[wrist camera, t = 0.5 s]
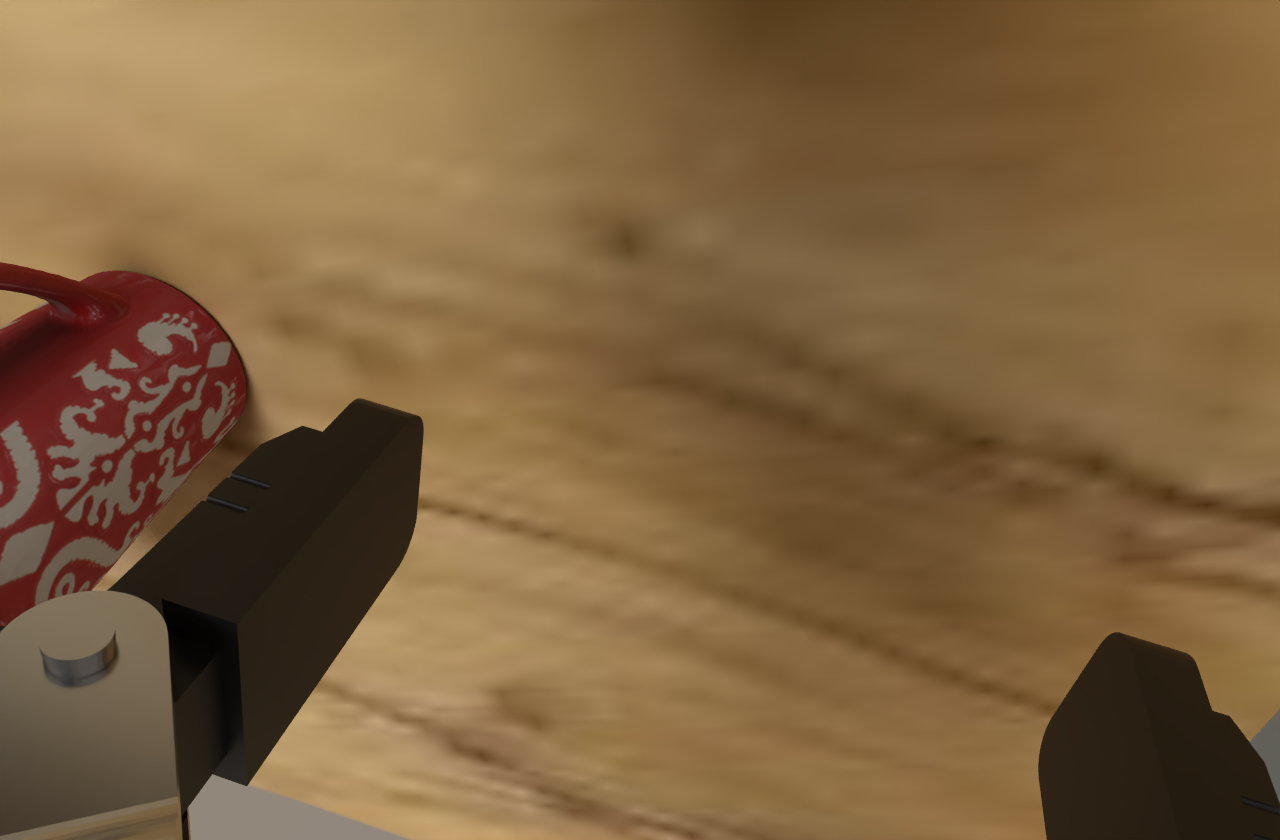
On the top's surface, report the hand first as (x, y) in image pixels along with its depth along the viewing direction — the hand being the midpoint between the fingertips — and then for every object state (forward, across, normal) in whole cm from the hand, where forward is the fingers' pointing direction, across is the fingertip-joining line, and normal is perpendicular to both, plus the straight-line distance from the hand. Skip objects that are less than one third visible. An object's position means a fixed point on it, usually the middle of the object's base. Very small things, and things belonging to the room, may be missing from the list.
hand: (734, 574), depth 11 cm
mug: (+18, +22, +12) cm, 31 cm away
